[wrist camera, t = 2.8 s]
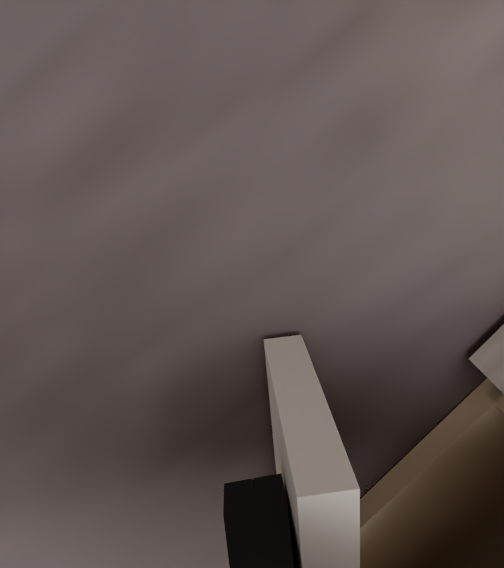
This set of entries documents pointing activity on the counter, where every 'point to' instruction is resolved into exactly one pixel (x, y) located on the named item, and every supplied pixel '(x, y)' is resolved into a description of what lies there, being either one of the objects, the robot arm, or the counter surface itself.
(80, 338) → the counter surface
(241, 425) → the counter surface
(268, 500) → the robot arm
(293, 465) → the door
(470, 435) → the beige rectangular block
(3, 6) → the counter surface
